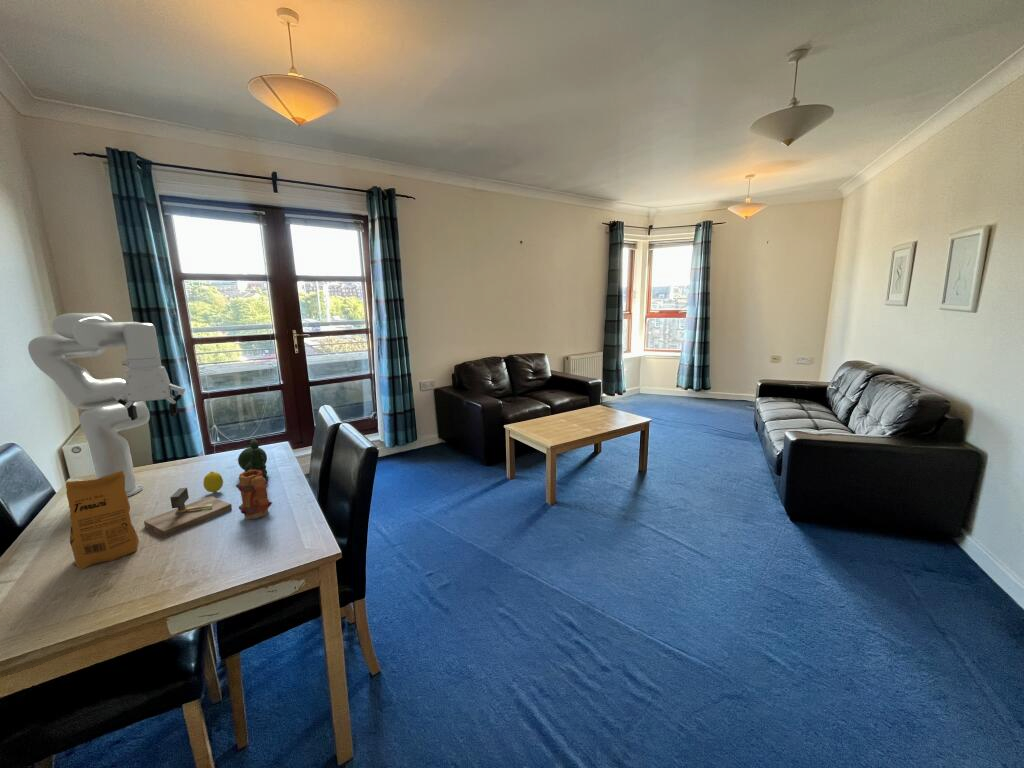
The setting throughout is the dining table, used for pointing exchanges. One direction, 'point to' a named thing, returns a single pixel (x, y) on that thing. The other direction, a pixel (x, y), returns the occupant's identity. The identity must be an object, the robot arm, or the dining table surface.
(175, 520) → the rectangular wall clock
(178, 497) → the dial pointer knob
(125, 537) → the coffee package
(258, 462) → the toy figurine
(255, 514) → the orange lumpy cylinder
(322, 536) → the dining table surface
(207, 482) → the lemon
